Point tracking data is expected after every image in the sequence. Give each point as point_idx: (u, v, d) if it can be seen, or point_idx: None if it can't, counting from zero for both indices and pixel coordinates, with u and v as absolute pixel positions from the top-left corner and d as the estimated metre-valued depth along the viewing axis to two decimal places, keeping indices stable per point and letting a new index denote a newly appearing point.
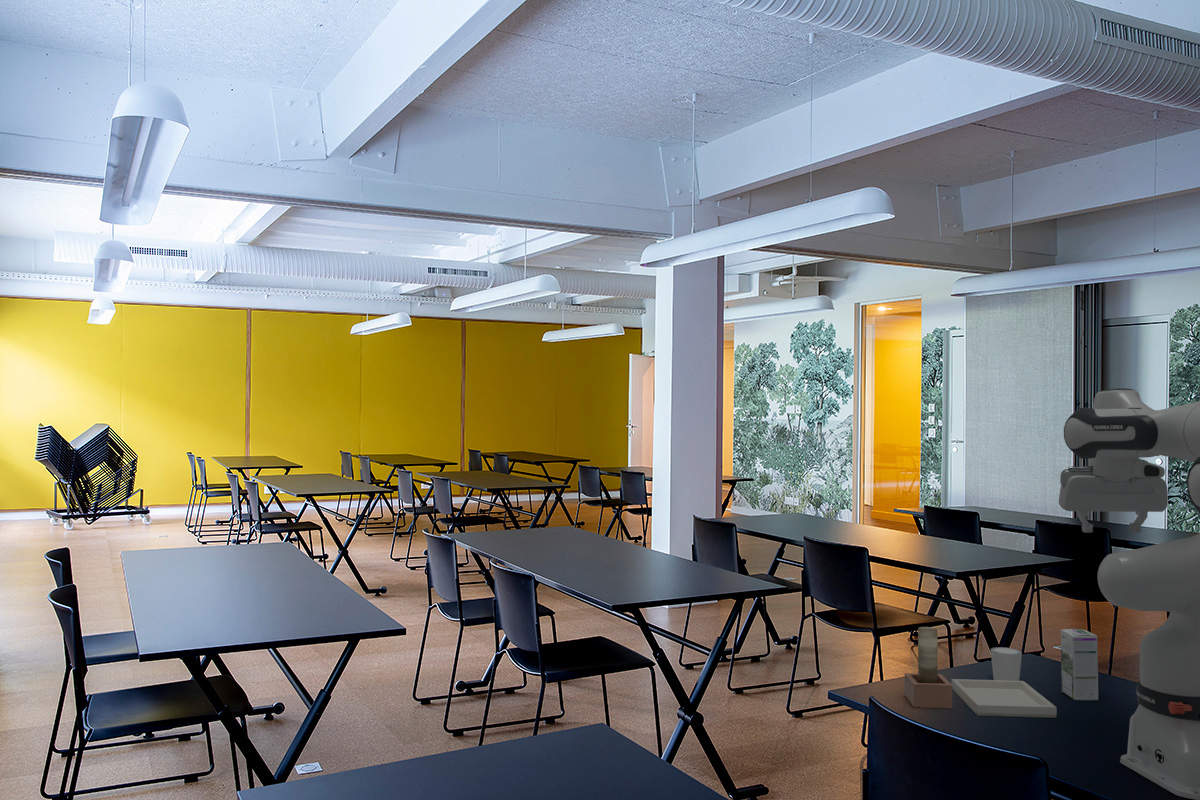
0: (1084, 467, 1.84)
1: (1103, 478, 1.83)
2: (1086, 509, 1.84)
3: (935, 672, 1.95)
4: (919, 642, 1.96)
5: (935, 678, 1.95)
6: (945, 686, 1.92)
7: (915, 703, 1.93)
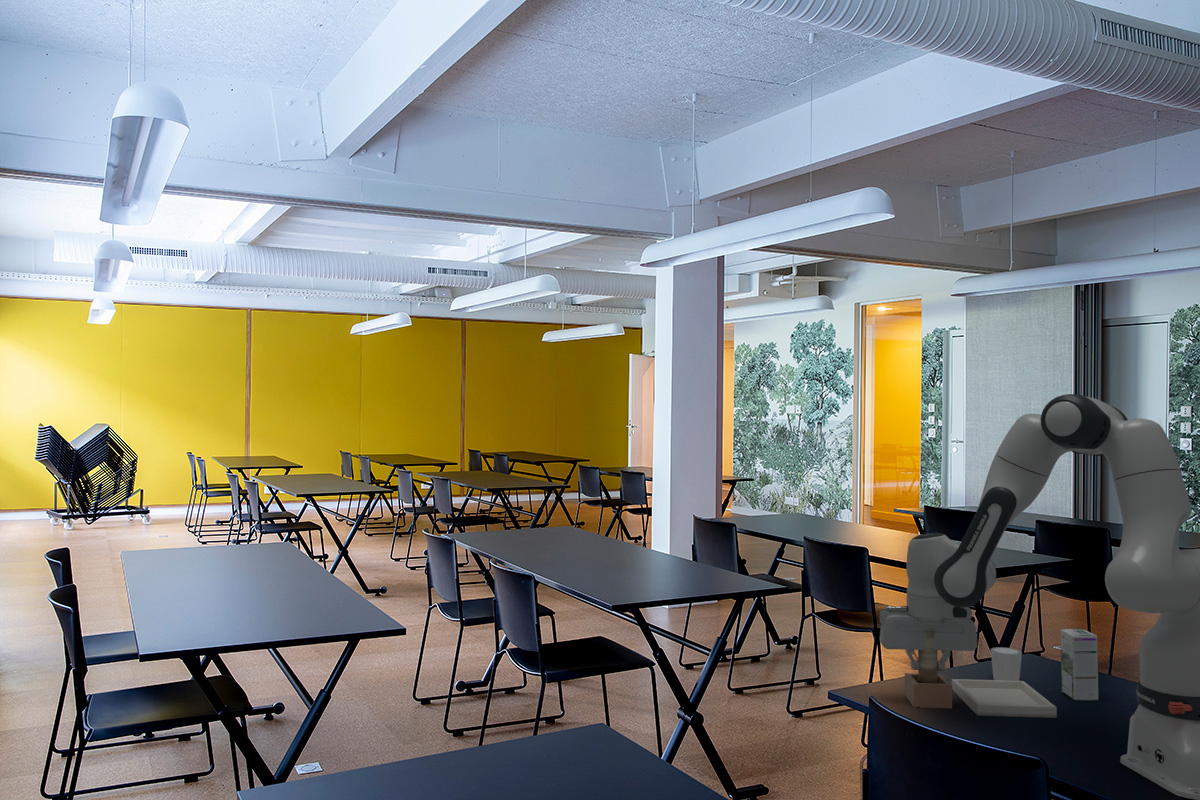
0: (900, 607, 1.97)
1: (917, 618, 1.95)
2: (902, 647, 1.95)
3: (935, 672, 1.95)
4: None
5: (935, 678, 1.95)
6: (945, 686, 1.92)
7: (915, 703, 1.93)
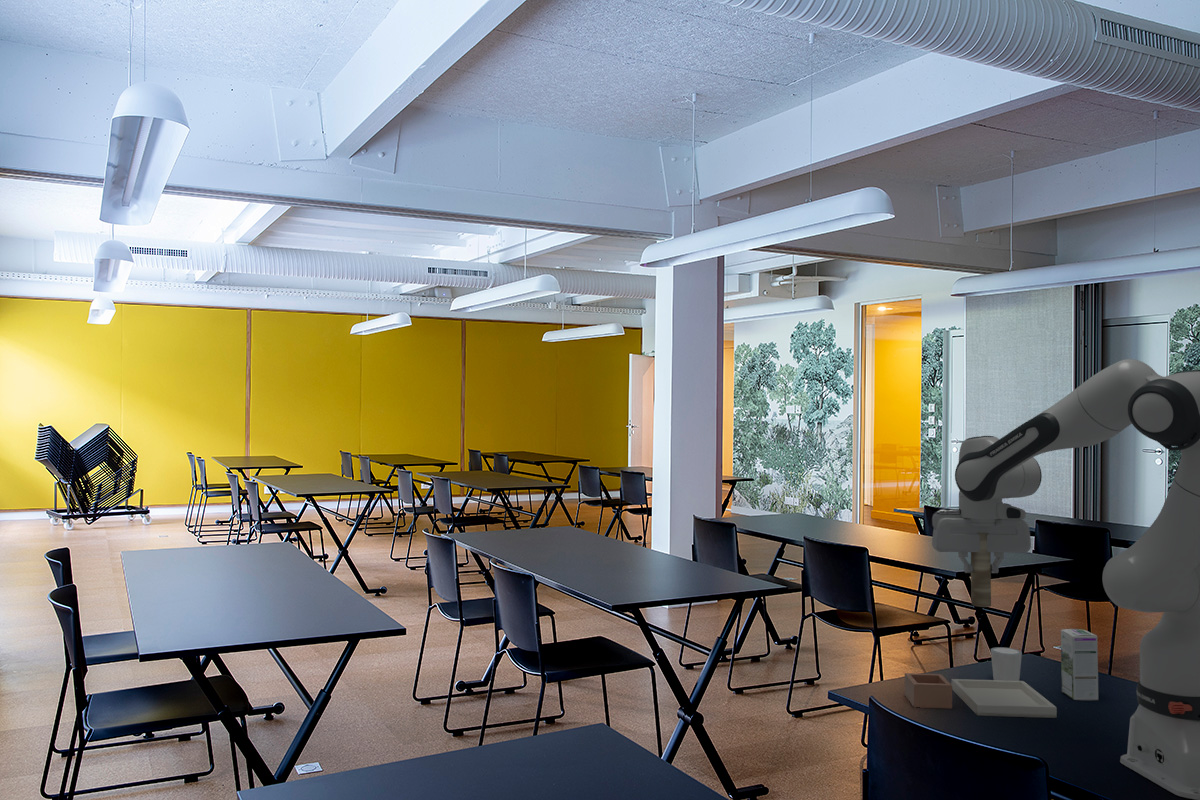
0: (953, 510, 1.97)
1: (970, 520, 1.95)
2: (956, 550, 1.95)
3: (989, 574, 1.95)
4: None
5: (989, 580, 1.95)
6: (945, 686, 1.92)
7: (915, 703, 1.93)
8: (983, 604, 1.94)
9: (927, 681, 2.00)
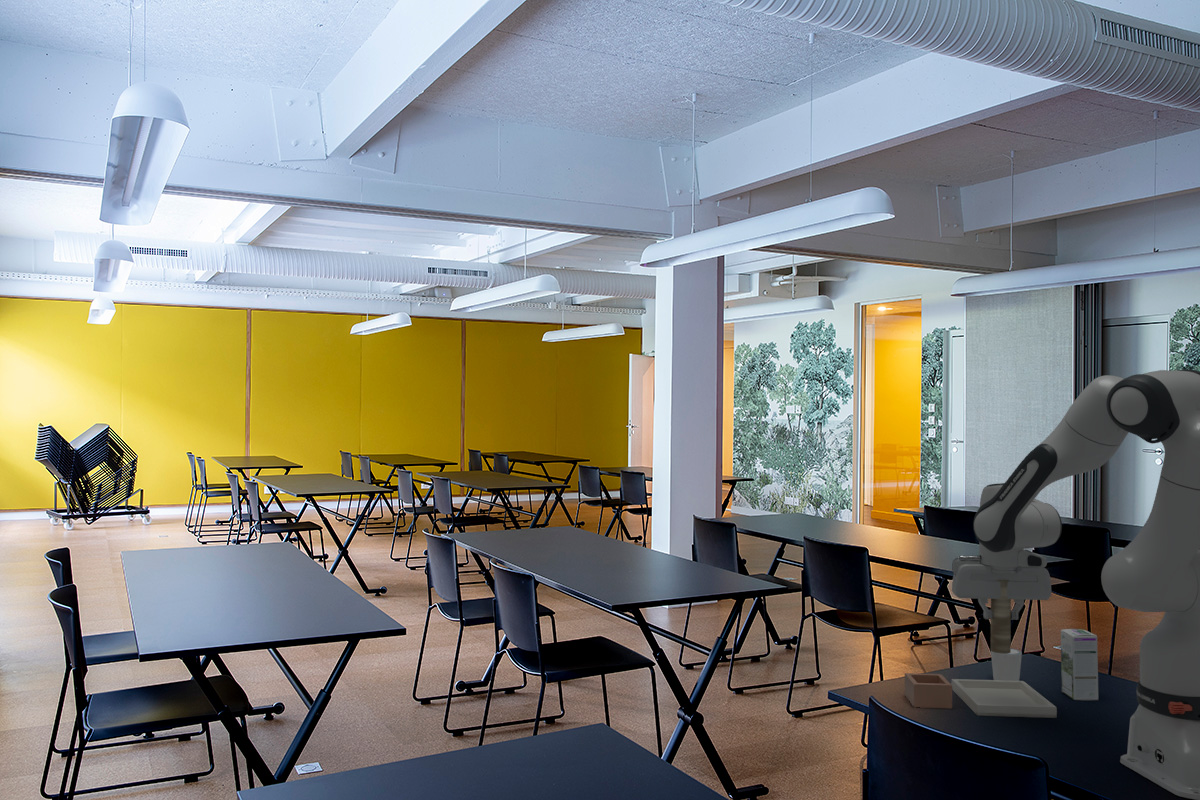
0: (973, 556, 1.97)
1: (991, 567, 1.95)
2: (976, 596, 1.95)
3: (1008, 621, 1.95)
4: None
5: (1008, 627, 1.95)
6: (945, 686, 1.92)
7: (915, 703, 1.93)
8: (1003, 651, 1.95)
9: (927, 681, 2.00)
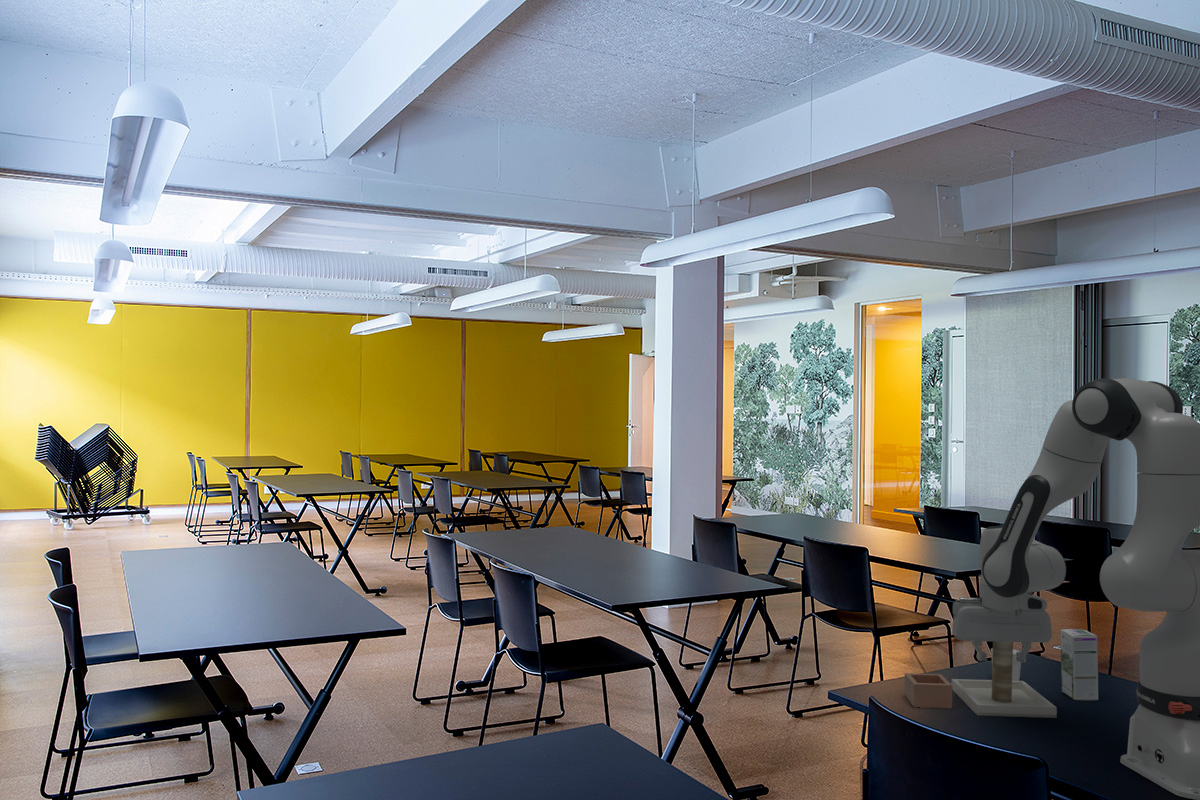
0: (974, 598, 1.97)
1: (991, 609, 1.95)
2: (976, 639, 1.95)
3: (1010, 669, 1.95)
4: None
5: (1010, 675, 1.95)
6: (945, 686, 1.92)
7: (915, 703, 1.93)
8: (1003, 699, 1.94)
9: (927, 681, 2.00)
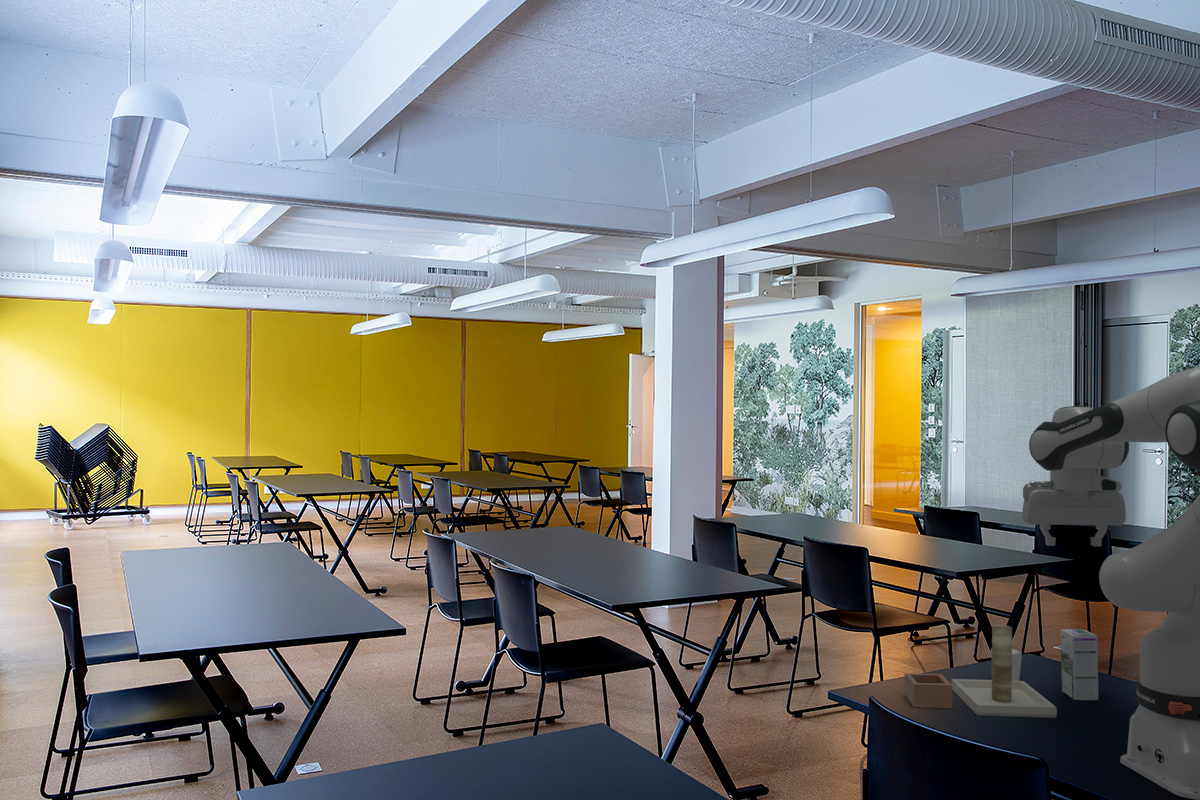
0: (1045, 482, 1.93)
1: (1063, 492, 1.91)
2: (1048, 522, 1.91)
3: (1010, 670, 1.95)
4: (993, 640, 1.96)
5: (1010, 676, 1.95)
6: (945, 686, 1.92)
7: (915, 703, 1.93)
8: (1003, 700, 1.94)
9: (927, 681, 2.00)
